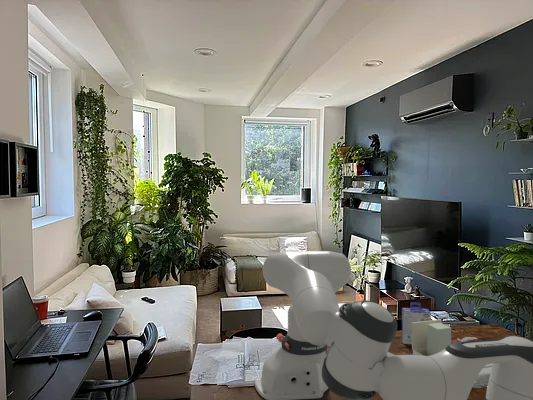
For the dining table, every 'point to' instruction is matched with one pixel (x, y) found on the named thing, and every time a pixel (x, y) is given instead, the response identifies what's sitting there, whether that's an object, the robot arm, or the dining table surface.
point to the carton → (420, 337)
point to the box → (437, 337)
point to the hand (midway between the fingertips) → (467, 358)
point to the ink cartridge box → (412, 320)
